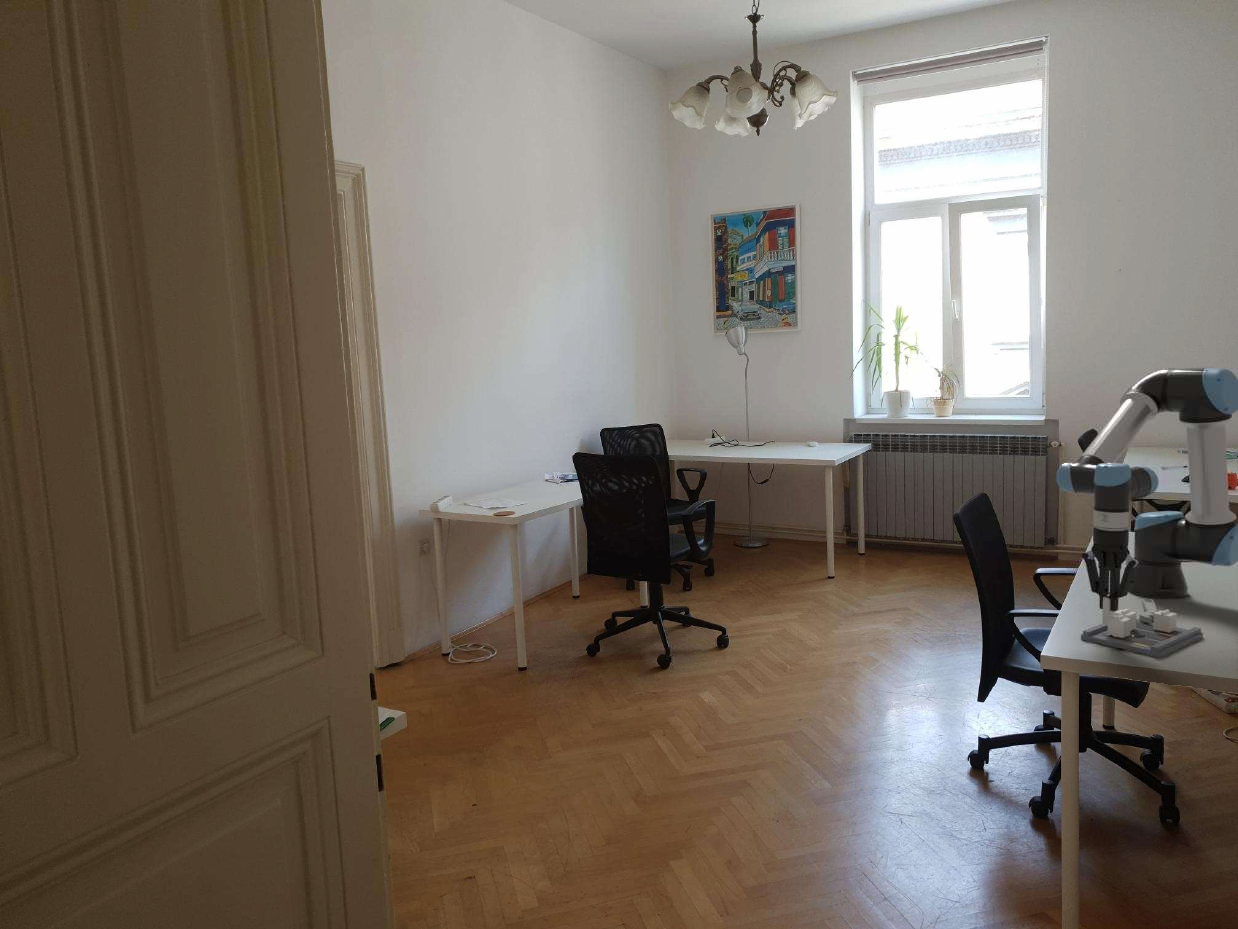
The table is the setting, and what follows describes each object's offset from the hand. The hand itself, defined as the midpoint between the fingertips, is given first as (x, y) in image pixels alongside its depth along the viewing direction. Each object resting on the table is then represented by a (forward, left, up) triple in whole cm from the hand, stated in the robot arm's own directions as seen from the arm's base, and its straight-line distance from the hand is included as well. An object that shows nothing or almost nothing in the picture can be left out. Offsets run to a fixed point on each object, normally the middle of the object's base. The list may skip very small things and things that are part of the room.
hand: (1108, 623), depth 217 cm
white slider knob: (-6, +1, -2) cm, 7 cm away
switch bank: (-6, +5, -4) cm, 9 cm away
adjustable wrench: (-26, -1, -4) cm, 27 cm away
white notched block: (-12, +8, -2) cm, 14 cm away
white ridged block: (0, +3, -2) cm, 3 cm away
